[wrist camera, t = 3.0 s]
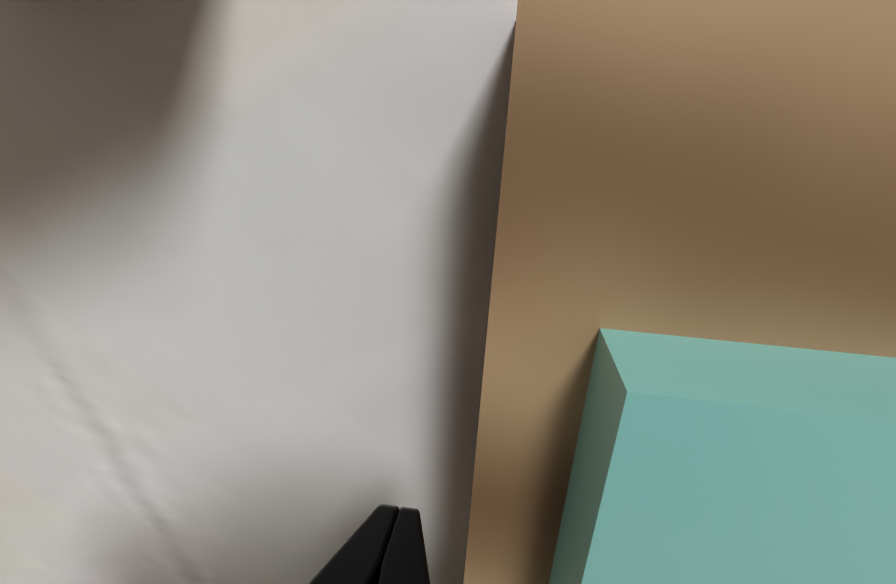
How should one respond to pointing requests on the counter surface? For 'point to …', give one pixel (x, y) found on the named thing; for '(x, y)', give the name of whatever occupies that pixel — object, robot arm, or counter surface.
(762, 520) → the teal rectangular block
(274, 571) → the counter surface
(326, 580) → the robot arm
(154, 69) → the counter surface
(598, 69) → the deck
